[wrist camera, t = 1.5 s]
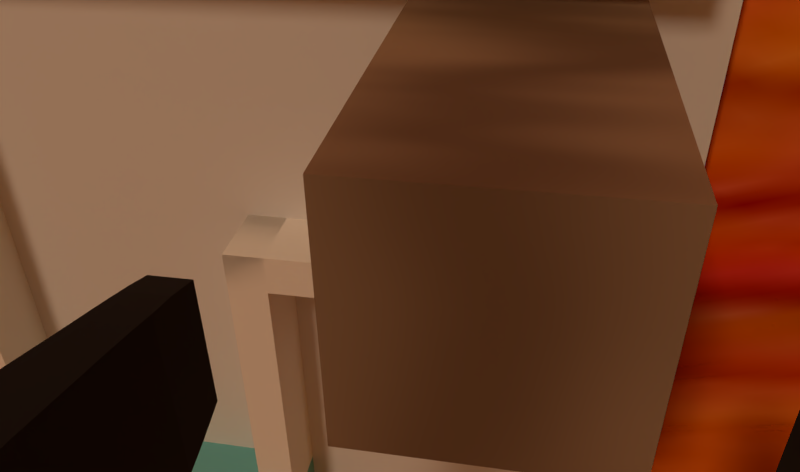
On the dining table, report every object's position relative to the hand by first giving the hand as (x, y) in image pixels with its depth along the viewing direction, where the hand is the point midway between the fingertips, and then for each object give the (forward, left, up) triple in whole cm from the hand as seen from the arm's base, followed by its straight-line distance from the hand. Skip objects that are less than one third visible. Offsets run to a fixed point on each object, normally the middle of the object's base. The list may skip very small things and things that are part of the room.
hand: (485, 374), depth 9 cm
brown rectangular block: (0, 0, -9) cm, 9 cm away
